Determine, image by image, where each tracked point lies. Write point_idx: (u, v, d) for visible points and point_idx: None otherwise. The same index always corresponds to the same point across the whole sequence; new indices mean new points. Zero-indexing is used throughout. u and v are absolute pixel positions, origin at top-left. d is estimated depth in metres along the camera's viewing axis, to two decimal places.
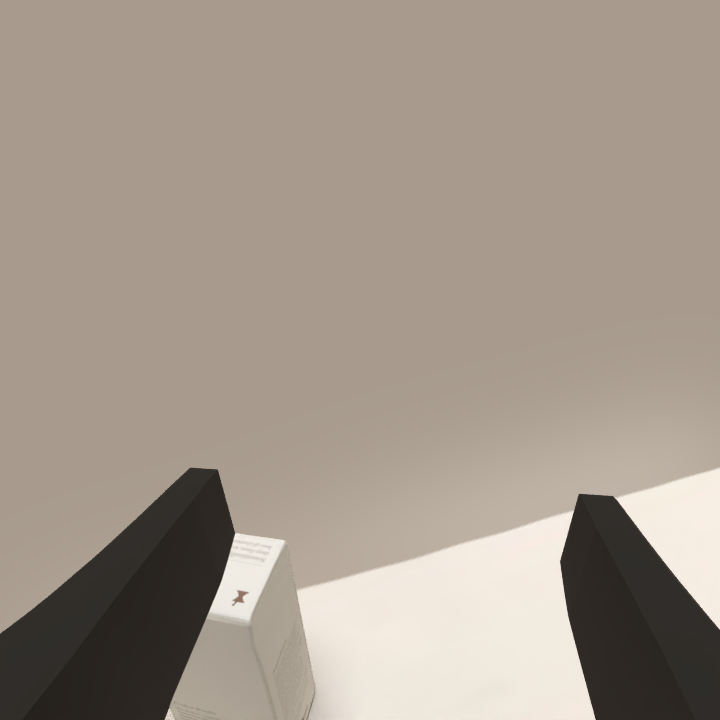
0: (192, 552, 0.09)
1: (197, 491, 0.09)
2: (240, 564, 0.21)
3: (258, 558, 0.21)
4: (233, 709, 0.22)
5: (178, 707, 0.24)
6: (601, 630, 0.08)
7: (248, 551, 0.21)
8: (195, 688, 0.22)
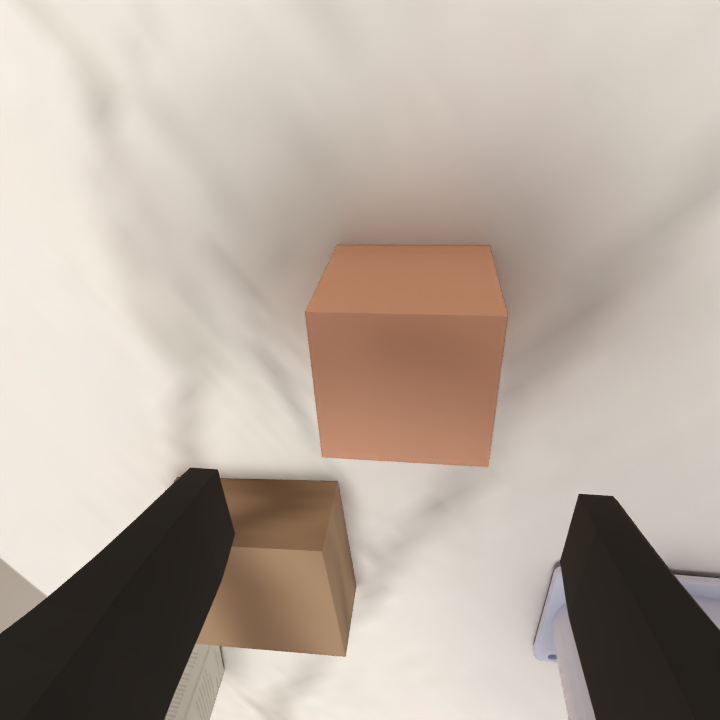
0: (192, 552, 0.09)
1: (197, 491, 0.09)
2: None
3: None
4: None
5: None
6: (601, 629, 0.08)
7: None
8: None
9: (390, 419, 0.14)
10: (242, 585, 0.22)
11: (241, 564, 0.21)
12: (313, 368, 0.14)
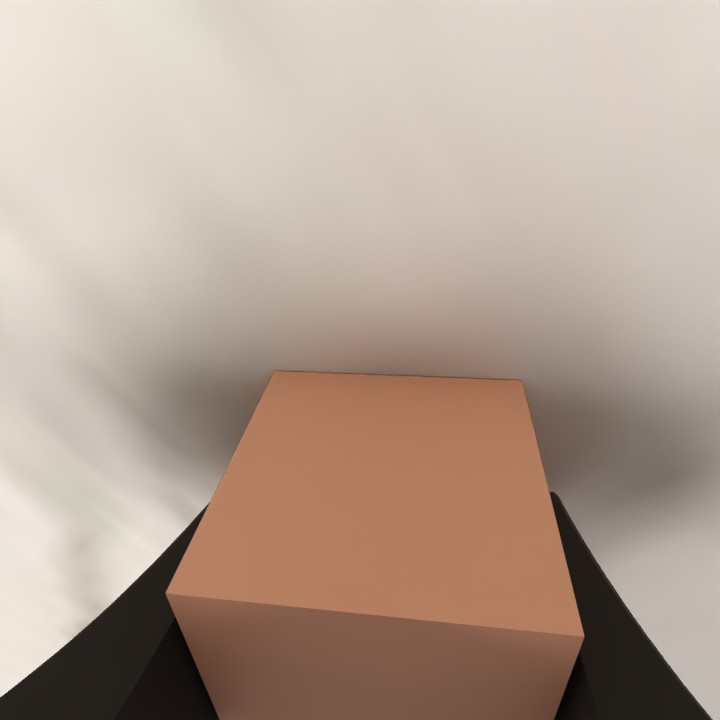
0: None
1: None
2: None
3: None
4: None
5: None
6: None
7: None
8: None
9: None
10: None
11: None
12: (199, 663, 0.07)
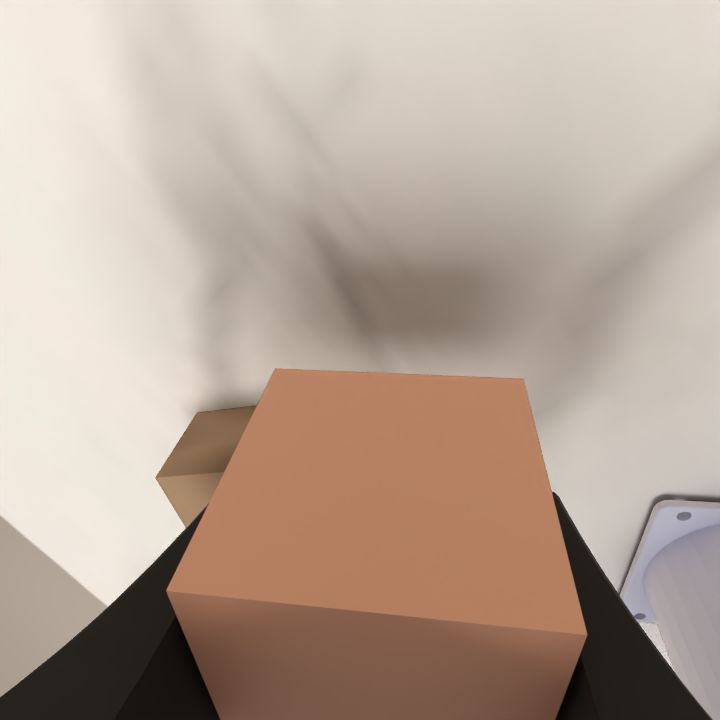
0: None
1: None
2: None
3: None
4: None
5: None
6: None
7: None
8: None
9: None
10: None
11: None
12: (199, 661, 0.07)
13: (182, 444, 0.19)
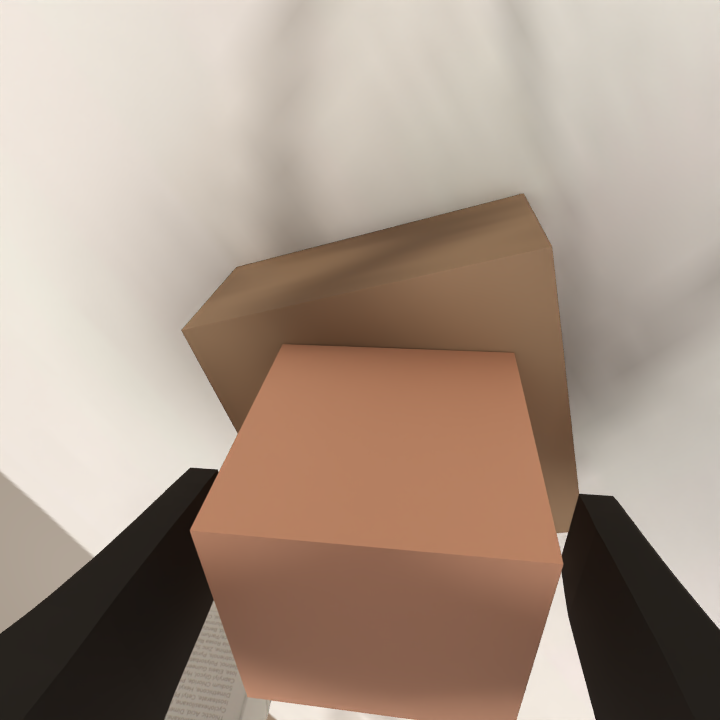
0: (192, 552, 0.09)
1: (197, 491, 0.09)
2: None
3: None
4: (258, 701, 0.18)
5: (269, 701, 0.20)
6: (601, 629, 0.08)
7: None
8: None
9: (351, 669, 0.09)
10: None
11: (377, 337, 0.11)
12: (217, 600, 0.08)
13: (219, 294, 0.13)
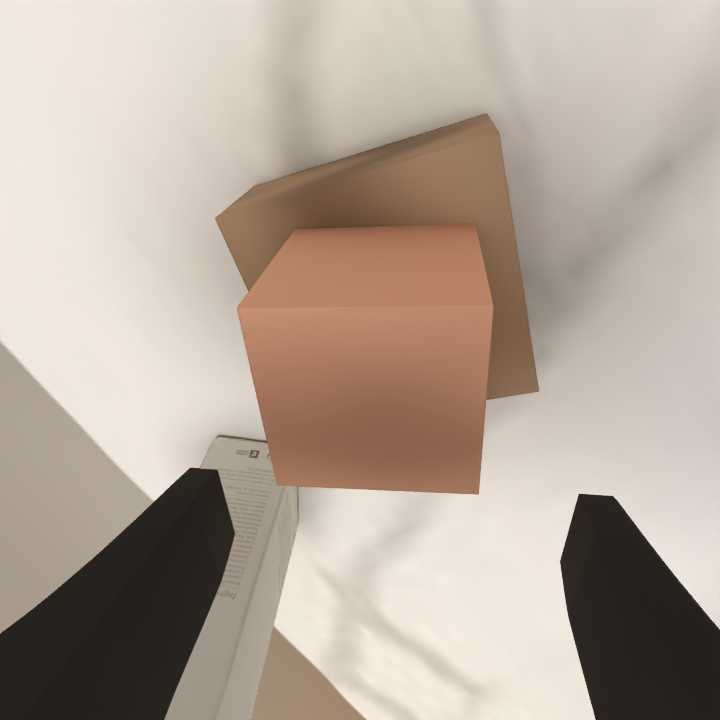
0: (192, 552, 0.09)
1: (197, 491, 0.09)
2: None
3: None
4: (273, 569, 0.21)
5: (281, 584, 0.23)
6: (601, 629, 0.08)
7: None
8: (268, 615, 0.21)
9: (355, 439, 0.11)
10: None
11: (369, 217, 0.14)
12: (255, 378, 0.11)
13: (242, 199, 0.16)
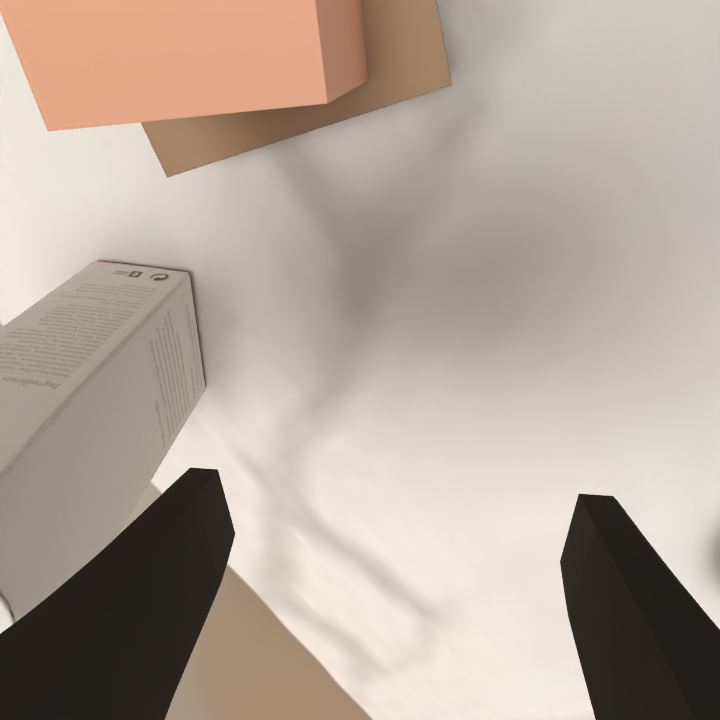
0: (192, 552, 0.09)
1: (197, 491, 0.09)
2: None
3: None
4: (139, 392, 0.16)
5: (168, 436, 0.19)
6: (601, 630, 0.08)
7: None
8: (132, 450, 0.16)
9: (126, 0, 0.07)
10: None
11: None
12: None
13: None
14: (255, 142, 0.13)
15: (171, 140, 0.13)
